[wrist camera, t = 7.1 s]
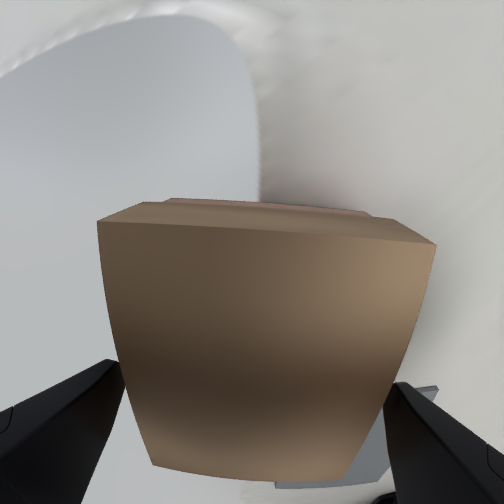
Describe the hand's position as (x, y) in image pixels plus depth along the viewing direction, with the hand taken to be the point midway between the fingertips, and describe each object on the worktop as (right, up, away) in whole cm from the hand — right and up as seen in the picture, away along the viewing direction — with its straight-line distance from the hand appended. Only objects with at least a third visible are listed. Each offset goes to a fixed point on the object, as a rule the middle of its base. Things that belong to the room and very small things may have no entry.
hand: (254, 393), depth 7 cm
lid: (0, +1, +2) cm, 2 cm away
